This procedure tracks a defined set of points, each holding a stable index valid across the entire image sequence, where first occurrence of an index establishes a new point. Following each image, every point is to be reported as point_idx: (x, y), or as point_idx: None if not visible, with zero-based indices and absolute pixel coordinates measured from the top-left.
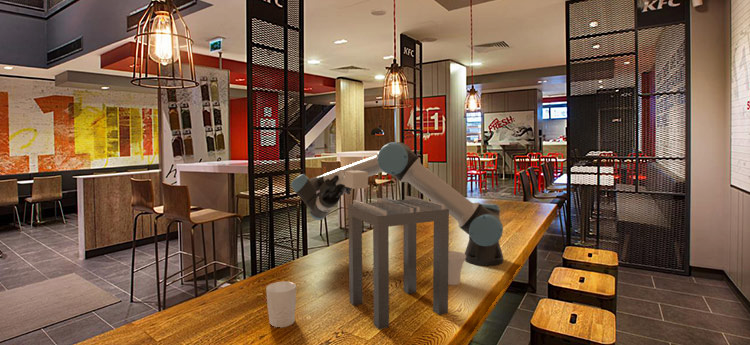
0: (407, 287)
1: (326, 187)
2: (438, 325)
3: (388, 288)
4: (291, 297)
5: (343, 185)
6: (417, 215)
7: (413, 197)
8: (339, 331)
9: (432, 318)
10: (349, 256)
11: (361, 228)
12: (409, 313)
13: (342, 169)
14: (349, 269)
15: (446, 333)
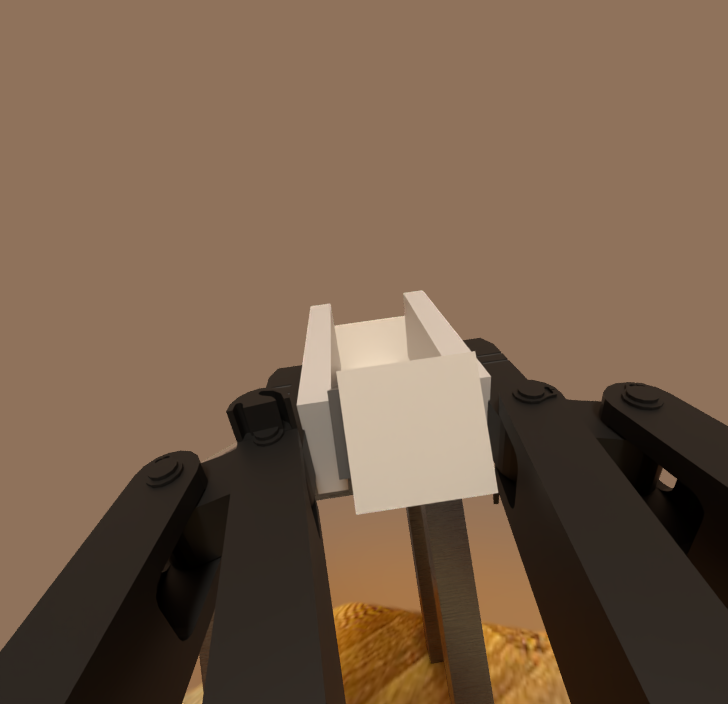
0: None
1: (688, 534)
2: (336, 632)
3: (414, 563)
4: None
5: (330, 615)
6: None
7: (219, 452)
8: (533, 651)
9: None
10: (482, 638)
11: (423, 519)
12: (357, 688)
13: (407, 294)
14: (491, 693)
15: (342, 611)
